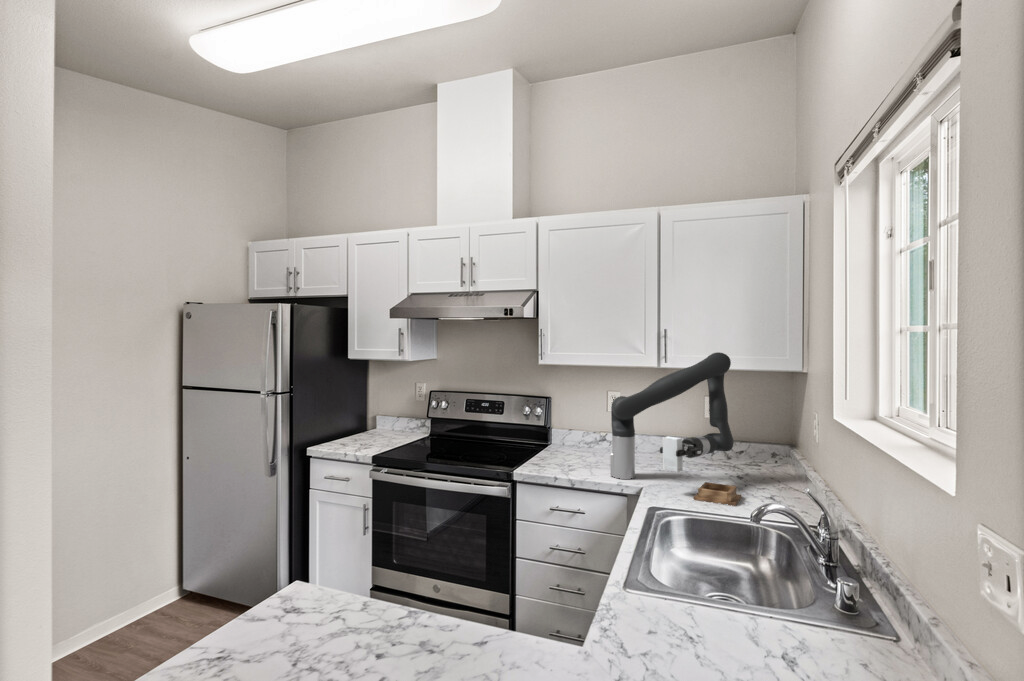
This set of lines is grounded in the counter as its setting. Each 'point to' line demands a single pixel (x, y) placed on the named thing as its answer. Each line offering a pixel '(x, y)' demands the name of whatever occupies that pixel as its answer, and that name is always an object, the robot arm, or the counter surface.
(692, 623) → the counter surface
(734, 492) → the walnut well board
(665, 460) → the skincare box
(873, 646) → the counter surface
